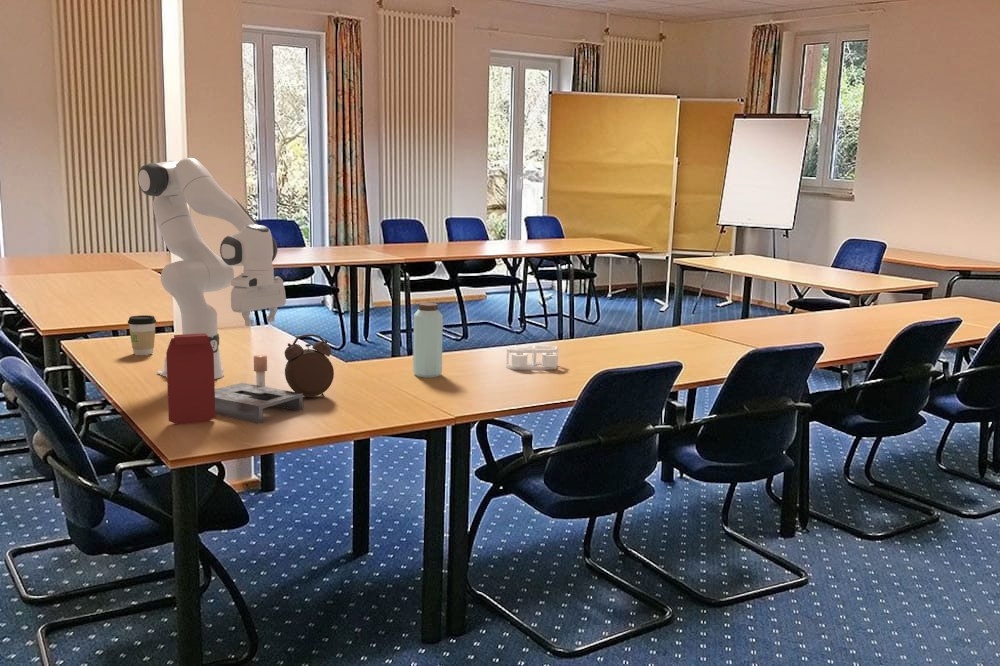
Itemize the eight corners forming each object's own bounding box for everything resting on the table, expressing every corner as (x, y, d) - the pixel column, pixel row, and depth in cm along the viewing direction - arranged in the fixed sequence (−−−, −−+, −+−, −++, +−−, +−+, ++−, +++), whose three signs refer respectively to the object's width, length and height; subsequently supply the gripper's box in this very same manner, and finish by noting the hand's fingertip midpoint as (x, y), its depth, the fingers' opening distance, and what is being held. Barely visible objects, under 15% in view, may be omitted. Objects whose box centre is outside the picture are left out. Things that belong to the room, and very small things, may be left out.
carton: (171, 429, 248) (168, 337, 244) (168, 424, 253) (165, 334, 248) (217, 424, 254) (215, 335, 250) (214, 420, 258) (212, 332, 254)
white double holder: (508, 371, 332) (509, 351, 331) (503, 365, 343) (504, 345, 342) (563, 371, 335) (563, 351, 334) (556, 364, 346) (557, 345, 345)
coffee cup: (136, 354, 343) (134, 314, 340) (162, 355, 343) (160, 315, 340) (124, 360, 333) (122, 318, 331) (151, 360, 333) (149, 319, 330)
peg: (249, 396, 286) (248, 356, 284) (260, 393, 290) (259, 354, 288) (261, 398, 284) (260, 358, 282) (272, 395, 288) (271, 355, 286)
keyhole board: (259, 423, 256) (258, 406, 255) (196, 410, 268) (196, 394, 267) (302, 410, 272) (302, 393, 271) (242, 398, 283) (241, 382, 282)
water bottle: (439, 379, 316) (441, 306, 312) (410, 378, 317) (411, 305, 313) (443, 372, 326) (444, 302, 322) (415, 371, 327) (416, 301, 322)
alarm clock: (329, 393, 292) (328, 331, 289) (335, 399, 286) (334, 335, 282) (282, 397, 286) (281, 333, 283) (287, 402, 280) (286, 337, 276)
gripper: (274, 275, 291) (275, 318, 294) (226, 281, 274) (228, 327, 276) (290, 276, 288) (291, 320, 291) (242, 282, 271) (243, 329, 273)
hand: (260, 323), depth 283 cm, fingers open, 8 cm apart
